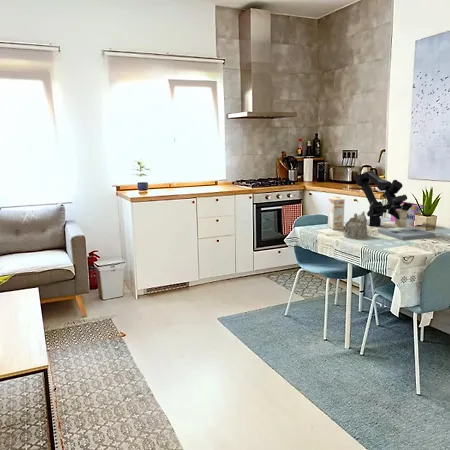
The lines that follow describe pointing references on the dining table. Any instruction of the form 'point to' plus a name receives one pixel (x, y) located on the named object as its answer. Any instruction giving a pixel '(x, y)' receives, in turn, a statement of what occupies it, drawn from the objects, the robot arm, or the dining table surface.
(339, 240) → the dining table surface
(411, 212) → the gum box
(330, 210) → the coffeecake box
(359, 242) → the dining table surface
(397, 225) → the beech post
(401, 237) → the board
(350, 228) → the grey rough lump
